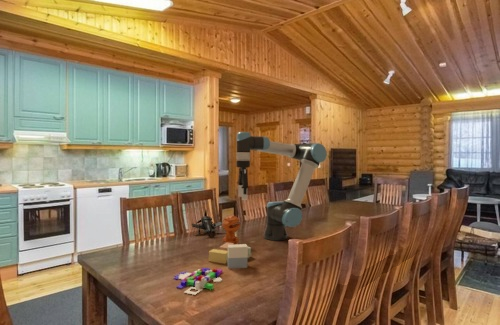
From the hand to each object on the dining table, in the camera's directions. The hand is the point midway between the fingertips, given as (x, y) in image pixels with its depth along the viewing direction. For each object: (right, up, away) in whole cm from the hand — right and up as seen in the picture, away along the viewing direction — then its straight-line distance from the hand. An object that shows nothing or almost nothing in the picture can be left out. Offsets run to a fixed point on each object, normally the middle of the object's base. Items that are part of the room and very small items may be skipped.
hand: (242, 198), depth 173 cm
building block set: (-19, -31, -41) cm, 54 cm away
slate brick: (-2, -30, -24) cm, 38 cm away
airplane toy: (-24, -28, +33) cm, 49 cm away
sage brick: (0, -29, -12) cm, 32 cm away
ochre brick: (-11, -29, -17) cm, 36 cm away
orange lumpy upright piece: (-7, -29, +9) cm, 31 cm away
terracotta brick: (-8, -29, -7) cm, 31 cm away
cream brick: (-2, -25, -24) cm, 35 cm away
